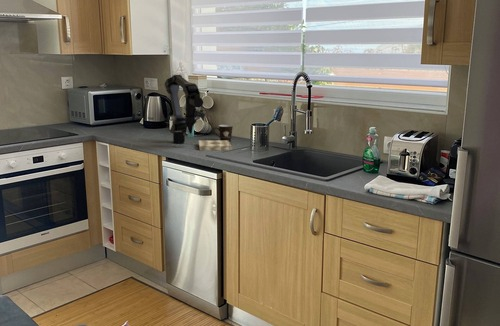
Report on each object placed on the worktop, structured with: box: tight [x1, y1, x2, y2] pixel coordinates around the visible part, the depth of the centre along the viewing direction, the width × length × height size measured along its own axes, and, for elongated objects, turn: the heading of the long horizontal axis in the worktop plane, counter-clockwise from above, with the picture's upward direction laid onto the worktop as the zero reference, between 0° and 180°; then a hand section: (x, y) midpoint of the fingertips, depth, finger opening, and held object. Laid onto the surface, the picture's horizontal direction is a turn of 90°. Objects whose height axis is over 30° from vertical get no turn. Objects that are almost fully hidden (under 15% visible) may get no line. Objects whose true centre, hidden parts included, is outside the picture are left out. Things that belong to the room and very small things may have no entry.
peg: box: [187, 124, 195, 138], centre depth 289 cm, size 5×5×9 cm
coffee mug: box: [212, 124, 234, 143], centre depth 313 cm, size 12×9×10 cm
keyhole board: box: [198, 139, 232, 151], centre depth 293 cm, size 18×18×2 cm
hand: (190, 132), depth 290 cm, fingers closed on peg, 4 cm apart
